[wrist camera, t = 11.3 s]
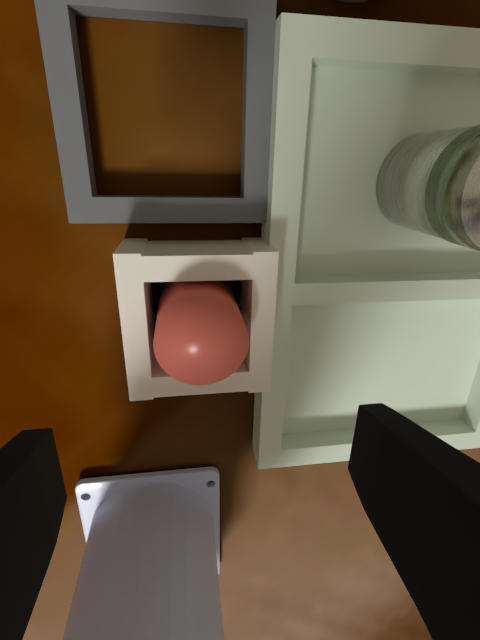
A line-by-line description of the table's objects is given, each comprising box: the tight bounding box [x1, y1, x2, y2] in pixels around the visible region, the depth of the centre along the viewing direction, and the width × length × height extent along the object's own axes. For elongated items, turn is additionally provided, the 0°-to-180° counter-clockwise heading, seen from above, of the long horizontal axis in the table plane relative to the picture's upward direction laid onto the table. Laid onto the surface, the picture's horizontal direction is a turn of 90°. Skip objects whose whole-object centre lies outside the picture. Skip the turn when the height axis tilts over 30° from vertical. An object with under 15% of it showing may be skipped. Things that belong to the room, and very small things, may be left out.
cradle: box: [34, 0, 277, 223], centre depth 14 cm, size 8×8×1 cm
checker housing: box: [113, 237, 279, 401], centre depth 17 cm, size 6×6×3 cm
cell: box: [376, 124, 480, 251], centre depth 14 cm, size 4×4×6 cm
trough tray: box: [252, 12, 480, 469], centre depth 18 cm, size 20×14×2 cm
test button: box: [153, 280, 249, 385], centre depth 16 cm, size 4×4×4 cm
